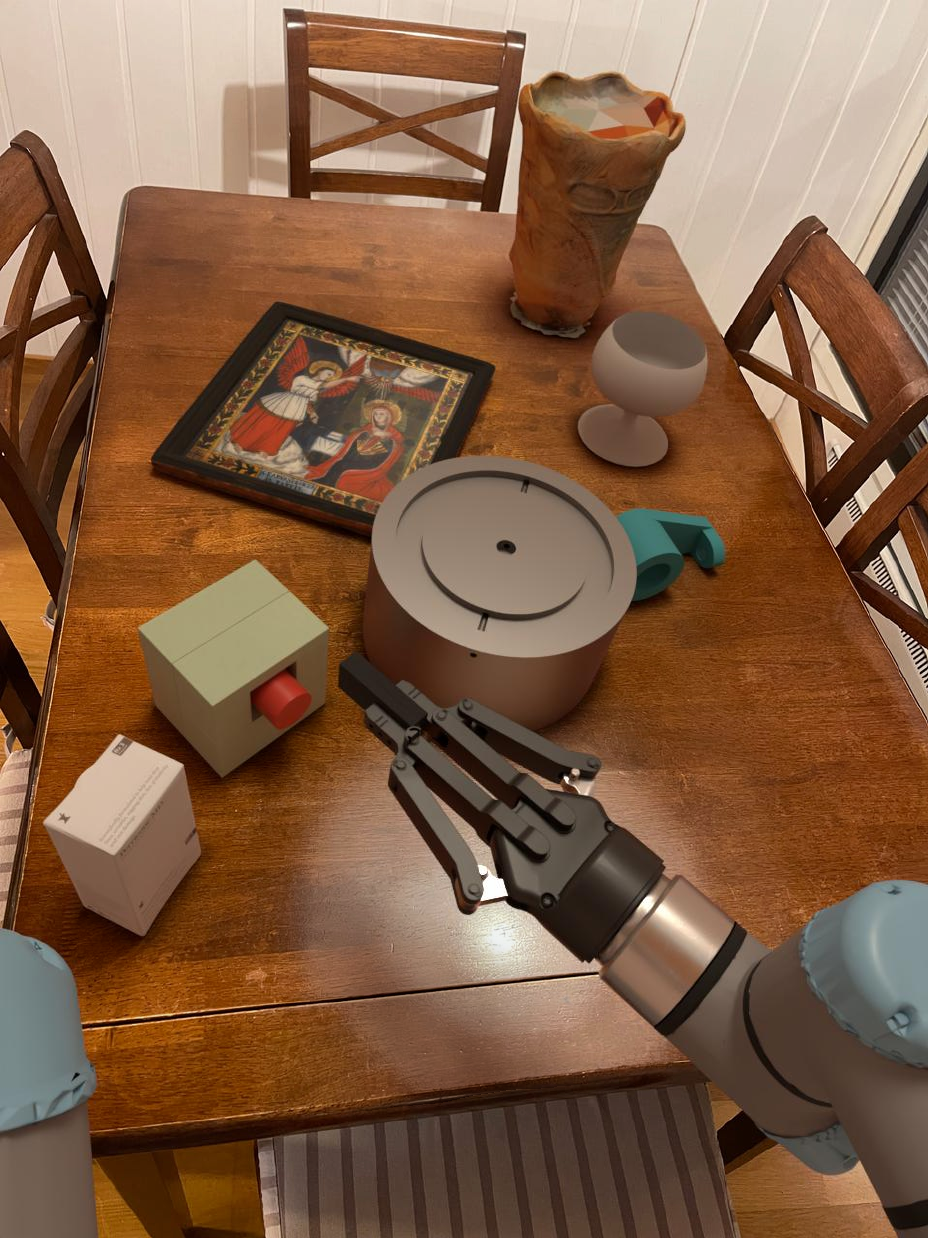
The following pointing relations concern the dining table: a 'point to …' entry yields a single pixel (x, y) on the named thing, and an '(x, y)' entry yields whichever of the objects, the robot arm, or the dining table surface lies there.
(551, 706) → the container
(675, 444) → the dining table surface
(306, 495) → the framed painting
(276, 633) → the box
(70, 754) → the dining table surface
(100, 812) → the cosmetic box
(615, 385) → the chalice
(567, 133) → the vase
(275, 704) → the button
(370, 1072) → the dining table surface
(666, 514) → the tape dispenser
